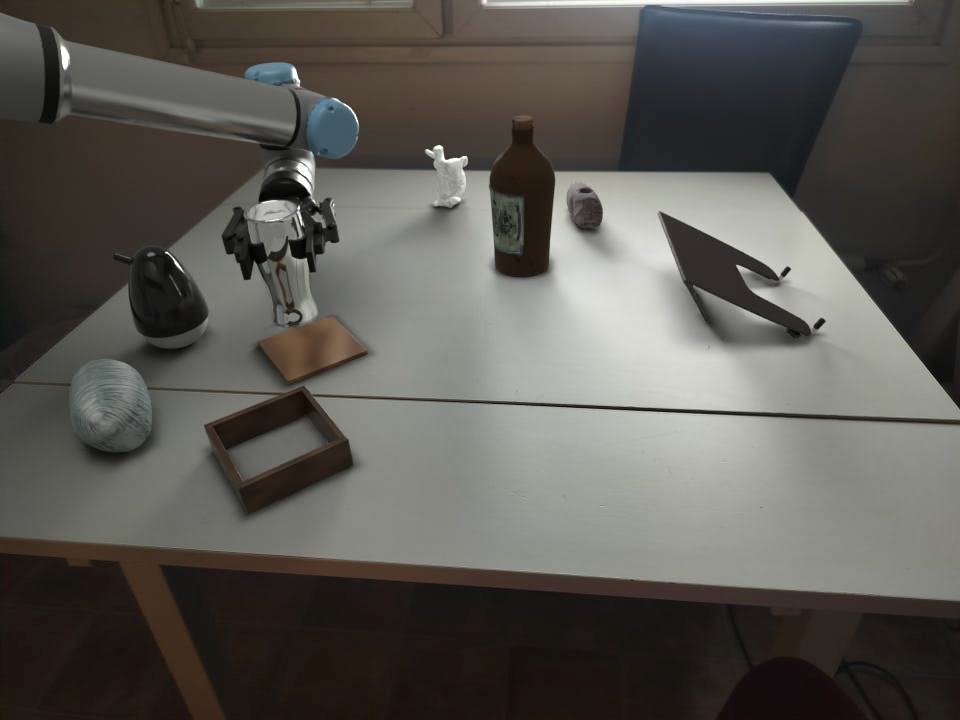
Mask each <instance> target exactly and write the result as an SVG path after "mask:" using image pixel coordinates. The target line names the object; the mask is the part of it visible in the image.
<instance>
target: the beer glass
mask: <svg viewBox="0 0 960 720" xmlns="http://www.w3.org/2000/svg"><path fill="white" fill-rule="evenodd" d="M245 209H246V210H245V211H244V218H245V224H246V230H247V236H248V241H249V245H250V249H251V252H252V256H253V259H254V264H255V267H256V269H257V270H258V273H259V275H260V277H261V279H262V281H263V283H264V285H265V287H266V289H267V292H268V296H269V300H270V306H271V320H272V323H274V325H275V326H277V327H280V328H283V329H296V328H298V327H302V326H305V325H307V324H310V323H313V322H315V321H316V319H318V316H319V315H320V310H319V307H318V305H317V302H316V300H315V297H314V295H313V292H312V286H311V273H310V272H309V267H308V262H307V258H306V253H305V252H306V236H307V234H306V229H305V226H304V222H303V219H302V216H301V212H300V208H299V205H298V204H297V203H296V202H293V201H290V200H269V201H264V202H260V203H258V202H257V203H255V204H252V205H250V206H249V207H247V208H245Z"/></svg>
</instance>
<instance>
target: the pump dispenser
mask: <svg viewBox="0 0 960 720" xmlns="http://www.w3.org/2000/svg"><path fill="white" fill-rule="evenodd" d="M112 259H113V260H115V261H116V262H119V263H122V264H124V265H127V266H129V270H128V280H127V291H128V292H127V293H128V303H129V308H130V314H131V317H132V321H133V324H134V327H135V330H136V331H137V332H138V334H140V335H142V337H143V338H144V339H145V340H146V342H148V343H149V344H150V345H152V346H155V347H157V348H160V349H165V350H177V349H181V348H185V347H187V346H189V345H190V346H191V345H192V344H193V343H196V342H197V341H198V340H199V339H200V338H202V336H203V334H205V331H206V329H207V326H208V319H209V318H208V317H209V314H210V309H209V306H208V303H207V301H206V299H205V297H204V294H203V292H202V291H201V288H200V287H199V285H198V283H197V281H196V280H195V279H194V276H192V274H191V272H190V271H189V270H188V269H187V268H186V266H185V265H184V264H183V262H182V261H180V259H179V258H178V257H177V256H176V255H175V254H174V253H173V252H171V251H170V250H169V249H167V248H166V247H164V246H161V245H155V244H149V245H145V246H142V247H141V248H138V250H136V252H134V255H128V254H125V253H121V252H117V251H115V252H114V253H113V254H112Z"/></svg>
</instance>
